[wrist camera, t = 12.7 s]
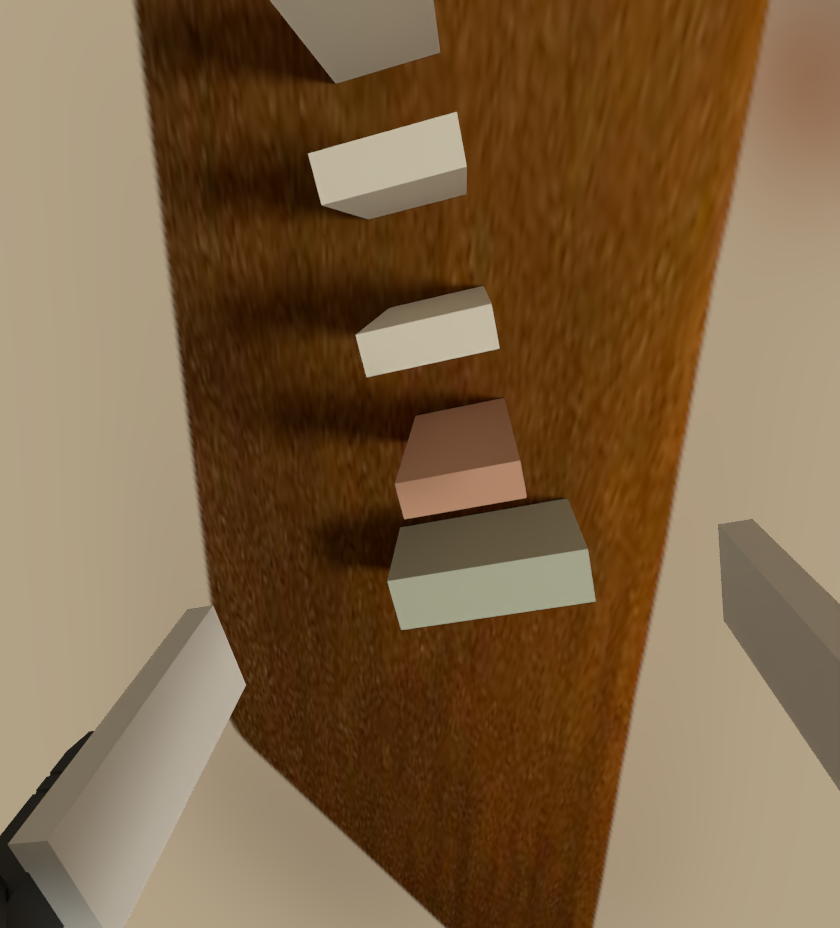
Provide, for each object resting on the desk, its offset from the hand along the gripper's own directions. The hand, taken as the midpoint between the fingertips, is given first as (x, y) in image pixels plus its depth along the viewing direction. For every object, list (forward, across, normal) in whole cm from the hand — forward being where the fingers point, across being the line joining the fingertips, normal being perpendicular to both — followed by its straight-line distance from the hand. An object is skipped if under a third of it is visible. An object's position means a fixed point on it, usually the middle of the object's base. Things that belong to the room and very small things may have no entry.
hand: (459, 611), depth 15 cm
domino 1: (+18, 0, +18) cm, 26 cm away
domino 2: (+18, 0, +12) cm, 22 cm away
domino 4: (+18, 0, 0) cm, 18 cm away
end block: (+18, 0, -8) cm, 20 cm away
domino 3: (+18, 0, +6) cm, 19 cm away
